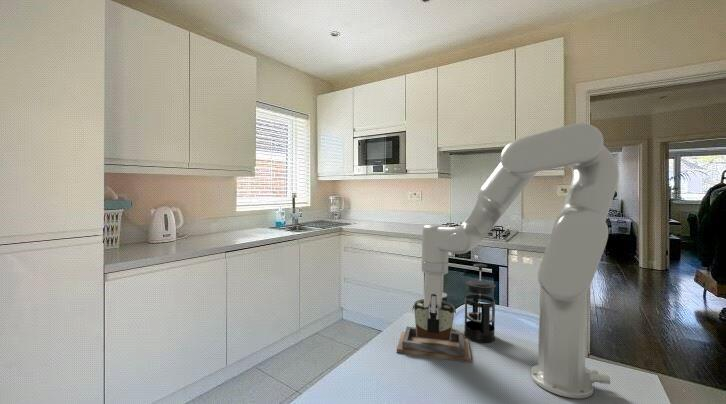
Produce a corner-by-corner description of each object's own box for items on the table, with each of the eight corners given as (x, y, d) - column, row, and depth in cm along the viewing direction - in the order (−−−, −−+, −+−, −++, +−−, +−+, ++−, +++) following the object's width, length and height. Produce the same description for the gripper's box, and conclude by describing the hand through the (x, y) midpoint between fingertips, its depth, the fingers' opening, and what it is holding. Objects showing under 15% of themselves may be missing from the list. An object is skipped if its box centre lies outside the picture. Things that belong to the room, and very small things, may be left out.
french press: (459, 328, 105) (460, 260, 105) (488, 329, 105) (489, 261, 105) (470, 345, 94) (471, 268, 93) (502, 346, 93) (503, 269, 93)
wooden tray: (467, 342, 96) (467, 332, 95) (471, 362, 84) (471, 351, 84) (402, 334, 100) (402, 325, 100) (396, 352, 89) (396, 341, 89)
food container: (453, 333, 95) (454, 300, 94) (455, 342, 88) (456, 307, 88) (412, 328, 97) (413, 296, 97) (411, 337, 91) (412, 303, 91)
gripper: (423, 260, 101) (422, 316, 101) (419, 272, 84) (418, 339, 85) (447, 261, 99) (446, 318, 100) (448, 274, 83) (446, 343, 83)
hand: (433, 327), depth 92 cm, fingers closed on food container, 5 cm apart
